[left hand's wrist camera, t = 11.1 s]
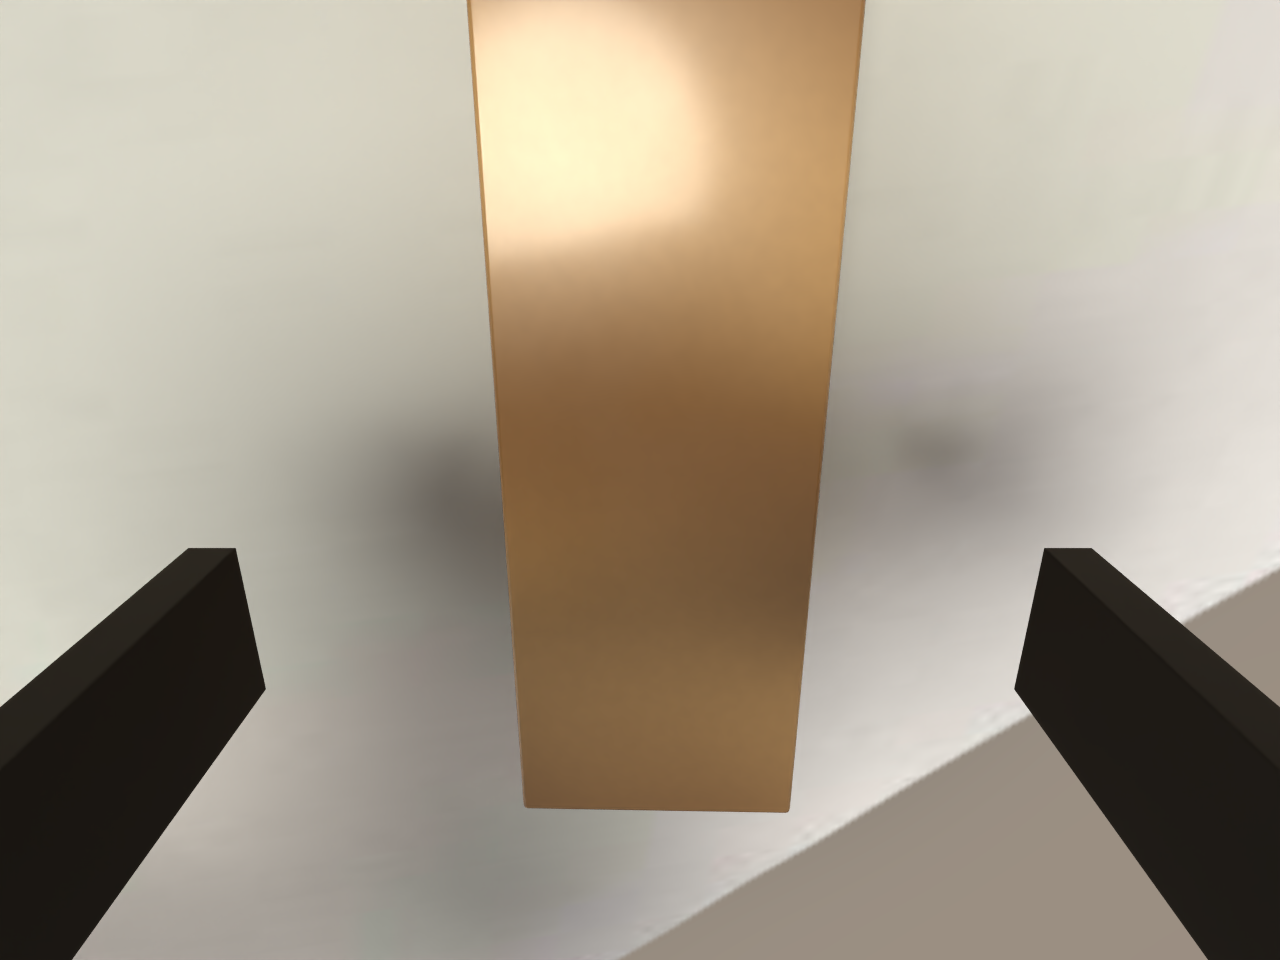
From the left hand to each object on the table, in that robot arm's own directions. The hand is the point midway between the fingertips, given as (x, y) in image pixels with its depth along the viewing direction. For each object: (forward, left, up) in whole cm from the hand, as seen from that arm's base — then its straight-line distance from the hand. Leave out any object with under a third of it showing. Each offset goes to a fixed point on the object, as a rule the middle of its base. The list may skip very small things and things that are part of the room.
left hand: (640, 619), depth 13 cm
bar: (+24, +27, -9) cm, 37 cm away
